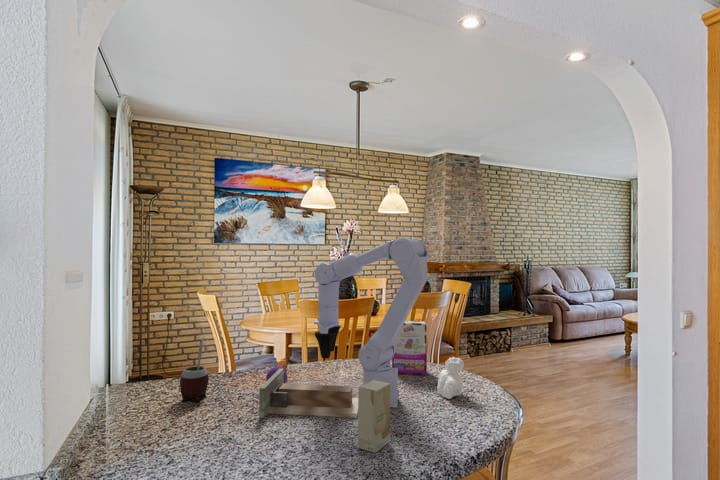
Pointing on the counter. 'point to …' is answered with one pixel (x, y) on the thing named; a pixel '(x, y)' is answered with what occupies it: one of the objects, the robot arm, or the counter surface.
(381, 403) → the skincare box
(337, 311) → the robot arm
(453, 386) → the bust
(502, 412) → the counter surface
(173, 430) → the counter surface
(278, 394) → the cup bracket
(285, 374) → the kendama
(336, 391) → the rail
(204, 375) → the mate gourd
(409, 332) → the candy bar box
